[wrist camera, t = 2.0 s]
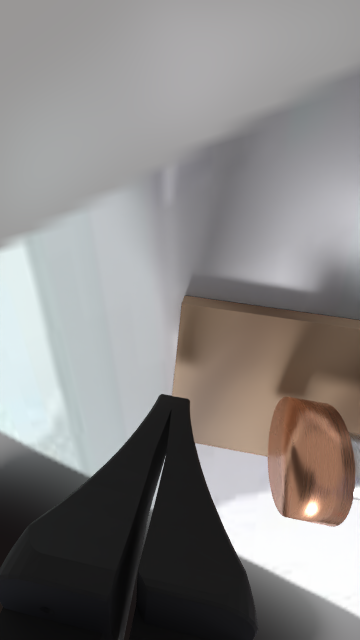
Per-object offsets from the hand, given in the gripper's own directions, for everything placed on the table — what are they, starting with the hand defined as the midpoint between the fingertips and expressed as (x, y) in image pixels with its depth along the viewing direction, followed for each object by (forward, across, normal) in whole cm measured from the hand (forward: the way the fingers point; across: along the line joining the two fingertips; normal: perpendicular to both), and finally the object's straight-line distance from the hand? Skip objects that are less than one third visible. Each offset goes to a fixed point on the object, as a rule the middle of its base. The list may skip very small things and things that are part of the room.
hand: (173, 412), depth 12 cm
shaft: (+1, -9, 0) cm, 9 cm away
